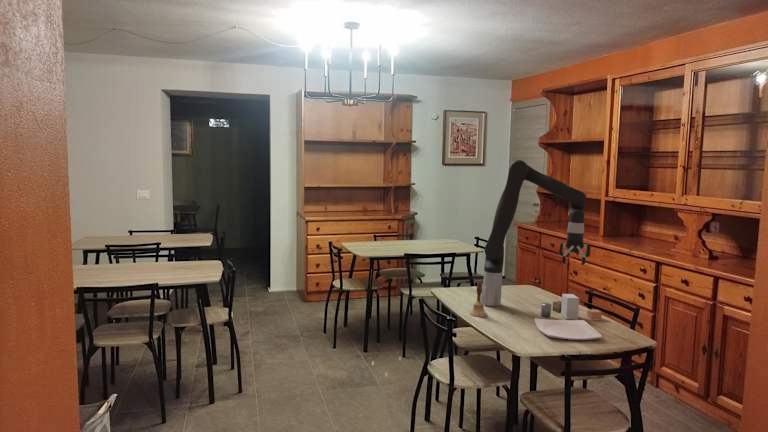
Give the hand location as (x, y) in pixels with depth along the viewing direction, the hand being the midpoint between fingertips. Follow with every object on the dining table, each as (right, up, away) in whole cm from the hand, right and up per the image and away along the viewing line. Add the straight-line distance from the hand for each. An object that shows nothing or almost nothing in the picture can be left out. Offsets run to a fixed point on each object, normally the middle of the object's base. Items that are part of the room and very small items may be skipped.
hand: (573, 264), depth 253 cm
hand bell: (-48, -24, -6) cm, 54 cm away
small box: (-4, -25, -6) cm, 26 cm away
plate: (-14, -27, -29) cm, 42 cm away
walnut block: (-6, -24, +3) cm, 25 cm away
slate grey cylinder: (-15, -24, -6) cm, 30 cm away
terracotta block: (+7, -25, -8) cm, 27 cm away
